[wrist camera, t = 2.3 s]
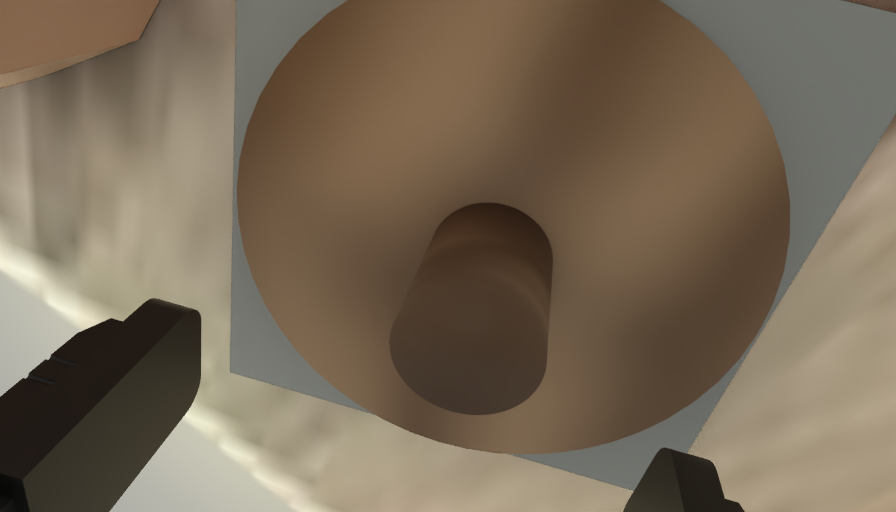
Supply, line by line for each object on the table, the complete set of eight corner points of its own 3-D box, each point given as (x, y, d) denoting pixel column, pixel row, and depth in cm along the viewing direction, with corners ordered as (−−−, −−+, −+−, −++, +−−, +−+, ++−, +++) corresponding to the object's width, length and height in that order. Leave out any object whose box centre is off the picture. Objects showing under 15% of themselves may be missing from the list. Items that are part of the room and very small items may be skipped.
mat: (939, 23, 12) (949, 26, 12) (657, 488, 20) (658, 498, 19) (248, -144, 13) (239, -146, 12) (235, 364, 20) (229, 372, 20)
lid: (908, 45, 12) (1086, 105, 8) (649, 484, 19) (671, 637, 15) (260, -113, 13) (111, -134, 9) (244, 365, 20) (158, 478, 16)
